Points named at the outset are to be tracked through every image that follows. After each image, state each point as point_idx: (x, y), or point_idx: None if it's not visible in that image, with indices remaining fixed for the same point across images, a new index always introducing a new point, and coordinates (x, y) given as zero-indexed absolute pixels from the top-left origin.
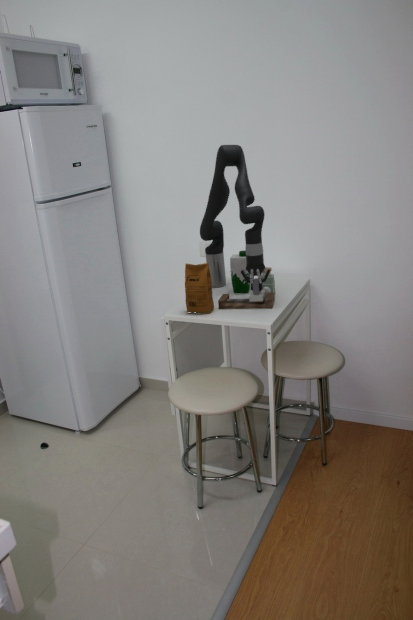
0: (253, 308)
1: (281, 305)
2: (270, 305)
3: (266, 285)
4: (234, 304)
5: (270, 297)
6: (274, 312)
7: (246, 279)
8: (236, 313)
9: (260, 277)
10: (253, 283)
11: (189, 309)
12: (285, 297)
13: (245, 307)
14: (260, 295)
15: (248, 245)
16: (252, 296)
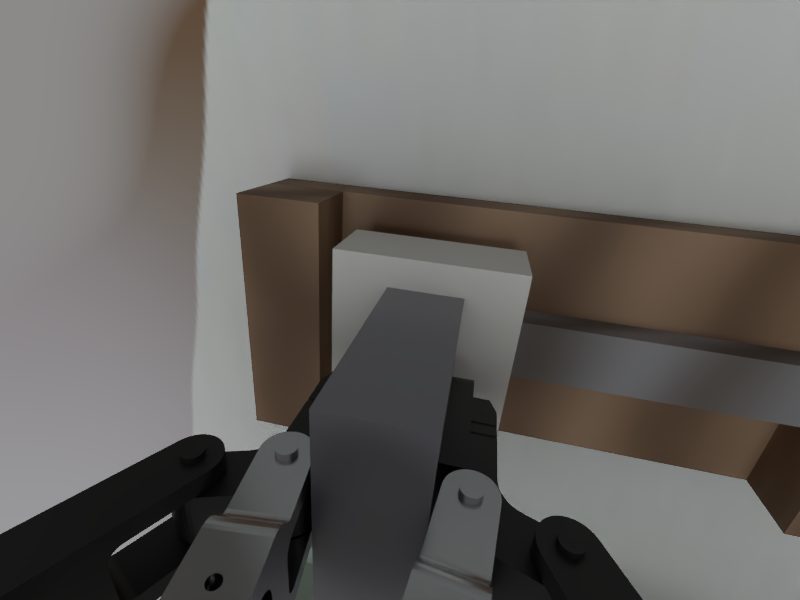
0: (481, 200)
1: (223, 251)
2: (290, 185)
3: None
4: (721, 284)
5: (267, 280)
6: (247, 35)
7: (602, 598)
8: (718, 36)
9: (205, 528)
10: (423, 410)
11: None
12: (231, 427)
13: (575, 213)
14: (363, 271)
15: None
16: (479, 267)
